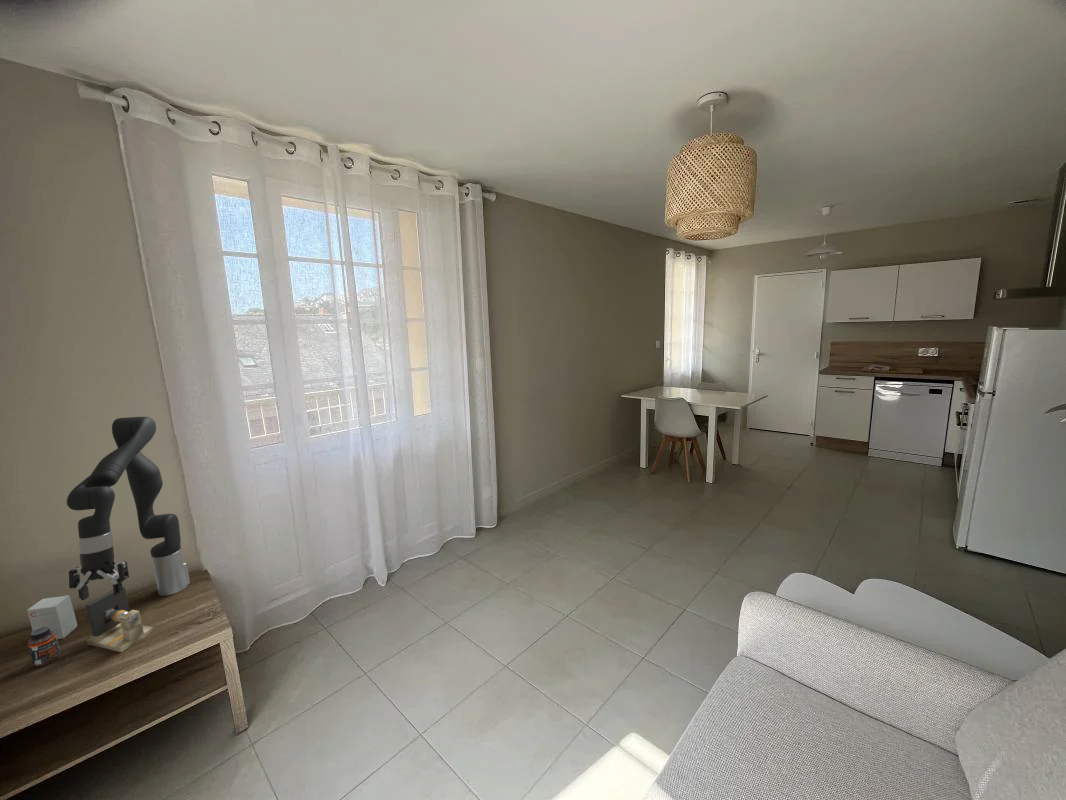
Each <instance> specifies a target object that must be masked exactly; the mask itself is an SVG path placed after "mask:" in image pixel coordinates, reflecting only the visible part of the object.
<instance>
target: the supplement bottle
mask: <svg viewBox="0 0 1066 800" xmlns="http://www.w3.org/2000/svg"><path fill="white" fill-rule="evenodd" d="M27 646H28V650H29V651H28V652H29V655H30V658H31V663H32V665H33V667H42V666H46V665H49V664H50V663H53V662H54V661H55V660H57V659H58V658H59V657H60V656H61V652H60V646H59V642H58V639H57V637H56V634H55V632H54V631H50V628H49V627H48V626H45V627H41V628H38V629H36V630H34V631H32V632H30V638H29V640H28V642H27Z"/></svg>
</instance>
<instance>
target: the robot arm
mask: <svg viewBox="0 0 1066 800" xmlns="http://www.w3.org/2000/svg"><path fill="white" fill-rule="evenodd" d="M156 432H157V424H156V421H155V420H154V419H153V418H152V417H150V416H131V417H130V416H129V417H128V416H126V417H118V418H115V419H114V420H113V422H112V424H111V433H112V437H113V440H114V442H115V445H116V447H117V448H116V449H114V450H113V451H112V452H111V451H110V453H108V454H107V455H105V456H104V457H103V458H101V460H100V461H99V462H98V464H97V465H96V467H94V469H93V471H92V472H91V474H90V475H89V476H87V477H86V478H84V479H83V480H82V481H81V482H80V483H79V484H78V485H76V486H75V487H74V488H73V489H72V490H71V491H70V492H69V494H68V495H67V498H66V506H67V507H68V508H69V509H70V510H72V511H87V510H89V511H90V510H94V512H93V514H92V515H88V516H85V517H83V518H81V519H80V520H78V522H77V531H78V551H79V552H78V554H79V560H80V561H79V562H80V566H81V567H79V566H75V567H73V568H72V569H70V570H69V571H68V587H69V589H70V590H71V589H76V590H77V592H78V598H79V599H80V601H85V600H87V599H88V598H89V596H90V592H89V586H88V584H89V582H91V581H96V580H104V579H105V580H106V581H108V582H109V581H110V582H111V583H112V588H113V589H112V590H113V591H114V595H118V594H119V593H121V591H122V590H123V588H122V587H123V582H124V581H125V580H127V579H128V578H130V572H129V568H128V562H127V560H123V561H121V562H117V563H116V562H115V552H114V541H113V540H114V539H113V535H112V532H111V522H110V519H111V514H112V510H113V506H114V503H115V500H116V499H115V498H116V494H115V491H114V490H113V489H112V488H111V487H113V486H115V485H116V484H117V483H118V482H119V480H120V479H121V477H122V475H123V473H124V472H125V471H126V476H127V480H128V484H129V487H130V490H131V493H132V496H133V500H134V504H135V508H136V509H135V510H136V515H137V520H138V521H137V523H138V528H139V532H140V535H141V537H142V538H143V539H145V540H155V539H162V538H163V539H164V540H163V541H161V542H159V543H157V544H155V545H154V546H152V547H151V549H150V557H151V562H152V567H153V572H154V577H155V581H156V588H157V592H158V596H162V597H164V596H172V595H175V594H177V593H180V592H181V591H183V590H185V589H186V588H187V586H189V584H190V583H191V582H190V581H191V580H190V575H189V570H188V564H187V563H186V562H184V558H183V553H182V552H183V550H182V546H181V544H182V543H181V542H182V541H181V531H180V521H179V517H178V516H177V515H176V514H175V513H163V514H155V513H154V503H155V500H156V499H157V497H158V496H159V494H160V493H161V490H162V488H163V484H164V482H163V479H162V474H161V471H160V468H159V467H158V466H157V465H156V463H155V462H153V461H152V460H151V459H150V458H148V457H147V456H146V455H144V454H143V453H142V452H141V451H142V450H143V449H144V448H145V447H146V445H147V444H148V443H149V442H150V441H151V440H152V439H153V437H154V436H155V434H156ZM115 569H116V570H115ZM81 574H82V575H83V577H82V579H81Z"/></svg>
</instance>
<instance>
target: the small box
mask: <svg viewBox="0 0 1066 800" xmlns="http://www.w3.org/2000/svg"><path fill="white" fill-rule="evenodd" d="M73 606H74V605H73V602H72V599H71V595H62V596H54V597H47V598H42V599H41V600H39V601H37V602H36V603H34V604H33V605H32V606H30V607H29V608H28V609H26V611H27V612H26V613H27V615H28V618H29V623H30V625H31V630H32V632H33V631H34V630H36V629H38V628H41V627H45V626H48V627H49V628H50V631H54V632H55V634H56V637H57V640H61V639H65V637H67V636H68V635H70V633H72V632H73V631H74V630H75V629H76V628H77V627H78V622H77V618H76V614H75V612H74V611H75V610H74V607H73Z"/></svg>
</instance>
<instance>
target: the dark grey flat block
mask: <svg viewBox="0 0 1066 800" xmlns="http://www.w3.org/2000/svg"><path fill="white" fill-rule="evenodd" d="M122 588H123V590H122V591H121V593H119V594H118V595H114V591H113V589H112V590H111V591H109V592H107V593H105V594H103V595H101V596H99V597H98V598H95V599H94V600H91V601H90V602H88V603H86V604H85V609H86V613H87V617H88V621H89V626H90V629H91V630H90V631H91V633H92V636H95V637H98V636H100V635H101V634H103V633H105V632H106V631H108V630H110V629H111V628H113V627H115V626H116V625H118V624H120V622H116V621H114V620H111V619H107V620H106V621H105V620H104V615H103V613H104V612H106V611H107V610H109V609H111V608H112V609H115V610H125V611H127V612H130V611H131V610H130V606H129V602H128V601H129V600H128V598H127V594H126V593H127V591H126V587H125V586H122Z"/></svg>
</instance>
